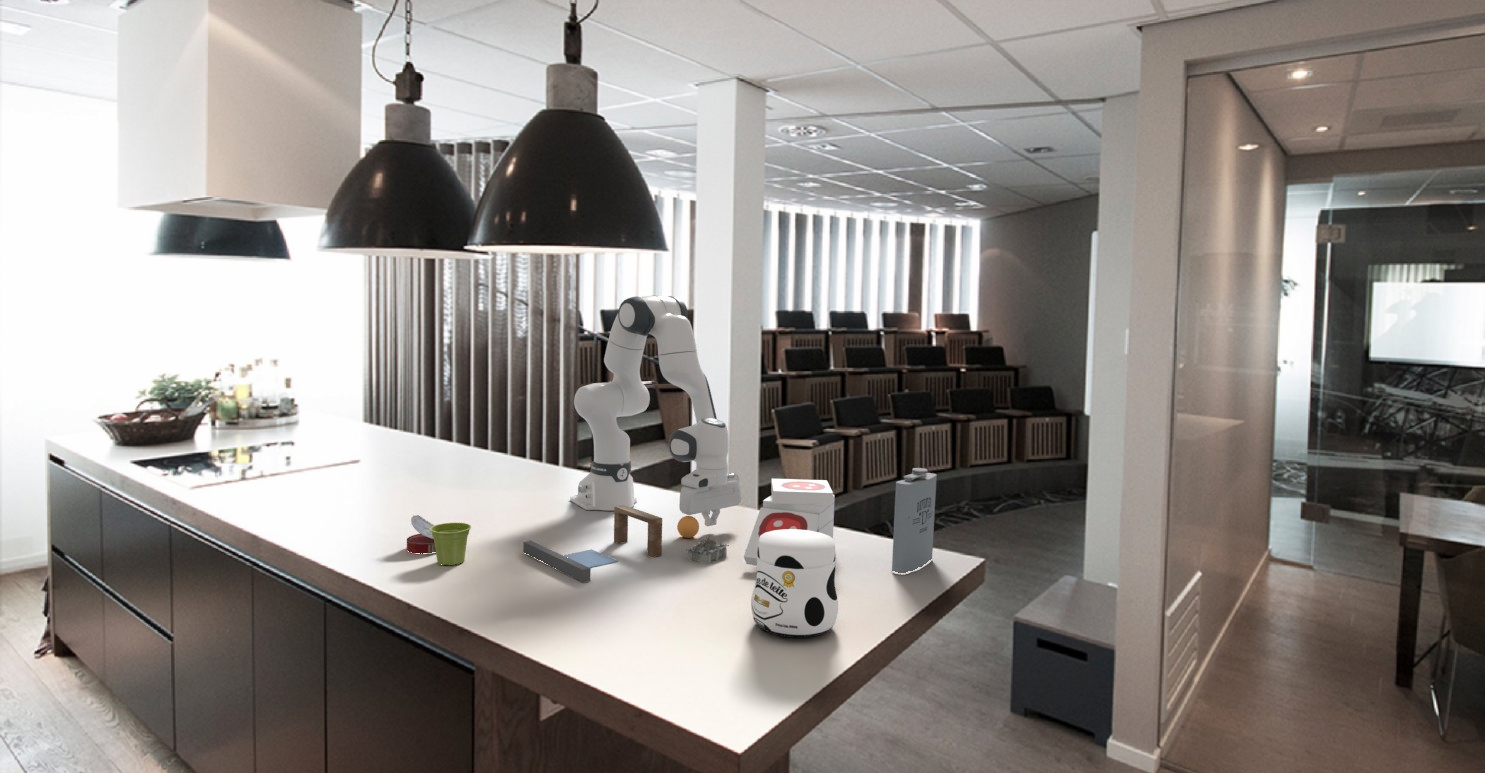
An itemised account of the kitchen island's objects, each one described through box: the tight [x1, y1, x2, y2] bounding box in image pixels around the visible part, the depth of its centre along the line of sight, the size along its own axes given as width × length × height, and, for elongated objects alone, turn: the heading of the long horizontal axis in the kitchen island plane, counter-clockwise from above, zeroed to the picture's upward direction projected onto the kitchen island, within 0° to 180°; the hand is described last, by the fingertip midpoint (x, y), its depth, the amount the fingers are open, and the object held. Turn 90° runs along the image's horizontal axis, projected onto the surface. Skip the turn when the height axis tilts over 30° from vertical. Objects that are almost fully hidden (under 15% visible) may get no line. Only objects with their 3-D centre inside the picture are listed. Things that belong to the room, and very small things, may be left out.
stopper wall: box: [522, 539, 592, 584], centre depth 196 cm, size 28×2×3 cm, turn 43°
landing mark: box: [563, 548, 619, 569], centre depth 201 cm, size 12×12×1 cm
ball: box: [676, 515, 700, 539], centre depth 223 cm, size 6×6×6 cm
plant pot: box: [430, 522, 472, 566], centre depth 196 cm, size 9×9×9 cm
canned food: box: [406, 514, 436, 554], centre depth 207 cm, size 11×10×10 cm
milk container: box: [750, 529, 839, 638], centre depth 162 cm, size 17×17×18 cm
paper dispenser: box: [743, 478, 836, 566], centre depth 206 cm, size 19×30×18 cm, turn 159°
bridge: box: [613, 505, 663, 558], centre depth 212 cm, size 3×17×10 cm, turn 43°
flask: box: [891, 467, 938, 573], centre depth 203 cm, size 17×5×25 cm, turn 143°
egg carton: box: [685, 535, 730, 564], centre depth 207 cm, size 11×8×4 cm
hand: (710, 525), depth 229 cm, fingers closed
